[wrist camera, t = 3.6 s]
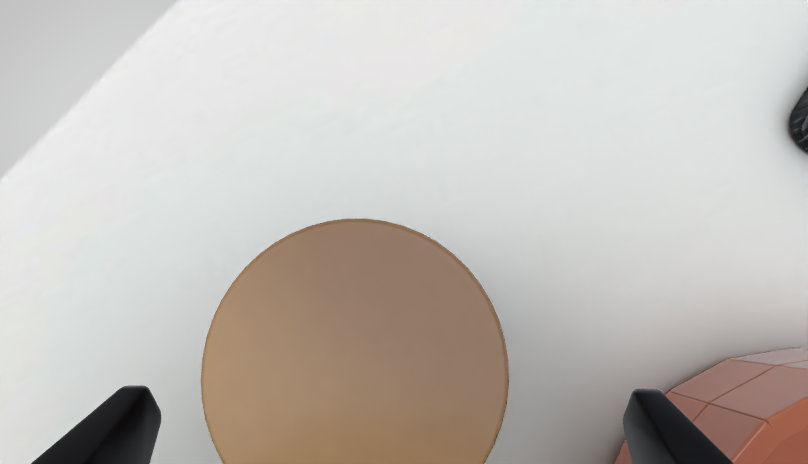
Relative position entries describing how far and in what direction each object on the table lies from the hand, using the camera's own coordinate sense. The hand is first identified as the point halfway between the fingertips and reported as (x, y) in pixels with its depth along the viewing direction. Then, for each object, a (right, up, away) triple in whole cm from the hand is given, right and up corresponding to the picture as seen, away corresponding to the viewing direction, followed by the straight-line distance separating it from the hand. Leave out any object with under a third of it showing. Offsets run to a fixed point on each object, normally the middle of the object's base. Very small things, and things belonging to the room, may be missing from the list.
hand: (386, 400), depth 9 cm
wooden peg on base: (0, 0, +9) cm, 9 cm away
